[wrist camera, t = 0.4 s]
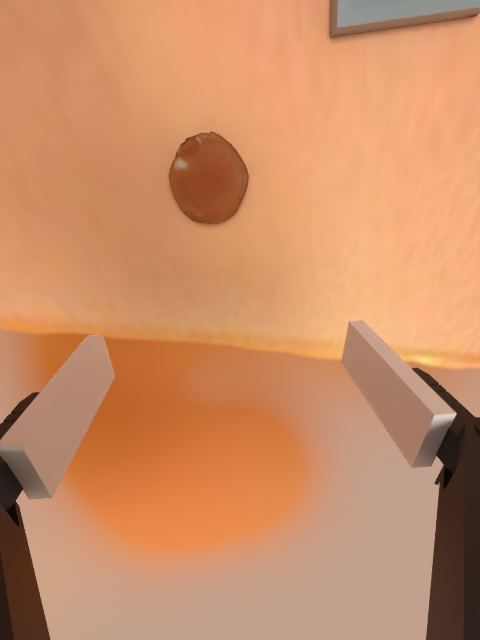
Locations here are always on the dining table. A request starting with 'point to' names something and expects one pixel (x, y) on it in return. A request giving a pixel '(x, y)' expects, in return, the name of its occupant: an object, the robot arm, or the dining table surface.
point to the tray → (394, 13)
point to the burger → (208, 178)
